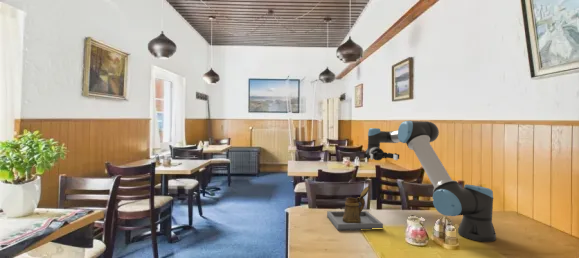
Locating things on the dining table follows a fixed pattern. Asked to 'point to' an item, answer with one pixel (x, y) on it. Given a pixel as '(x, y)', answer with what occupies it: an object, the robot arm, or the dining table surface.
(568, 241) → the dining table surface
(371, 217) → the grey tray
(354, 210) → the turkish coffee pot
